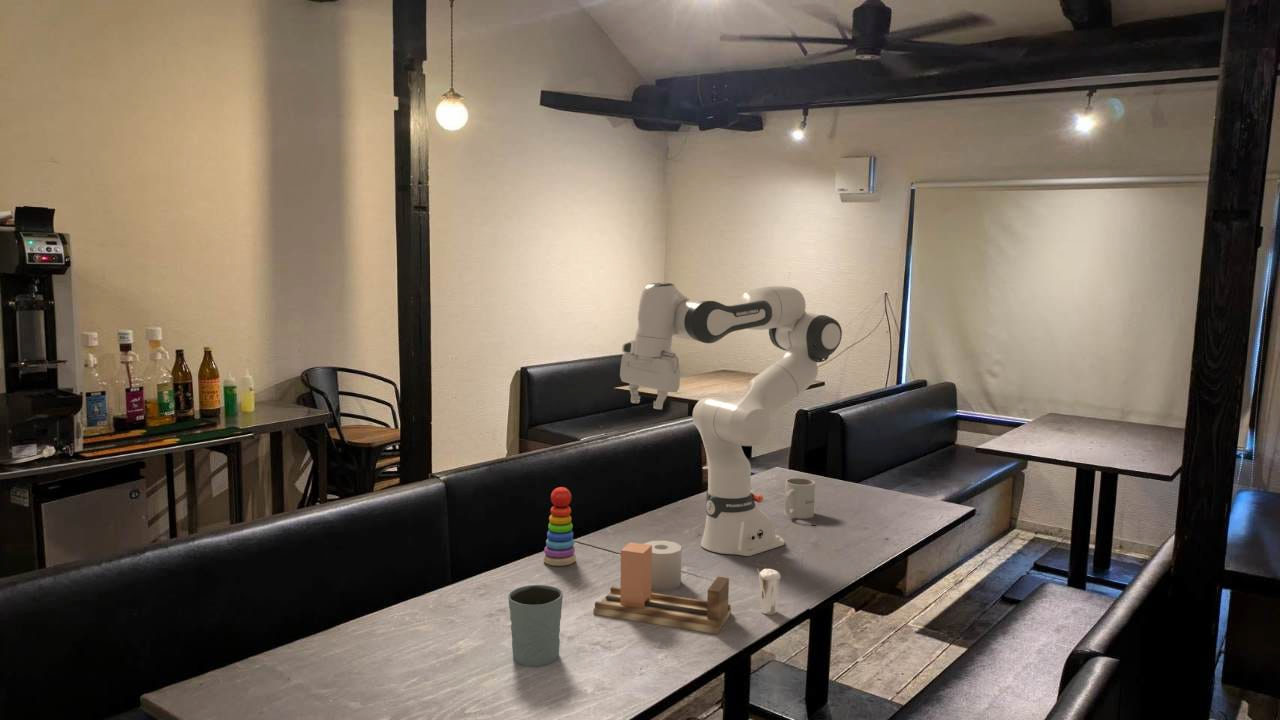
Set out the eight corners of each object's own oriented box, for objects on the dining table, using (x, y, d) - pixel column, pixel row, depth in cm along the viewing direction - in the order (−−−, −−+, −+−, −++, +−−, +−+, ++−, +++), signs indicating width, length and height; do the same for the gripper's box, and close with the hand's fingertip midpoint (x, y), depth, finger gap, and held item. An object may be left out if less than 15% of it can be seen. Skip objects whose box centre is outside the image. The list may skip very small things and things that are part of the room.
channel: (593, 613, 177) (593, 576, 176) (612, 595, 187) (613, 559, 186) (717, 634, 168) (718, 594, 167) (731, 613, 178) (731, 575, 177)
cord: (605, 600, 181) (605, 595, 181) (606, 598, 182) (606, 594, 182) (712, 616, 173) (712, 612, 173) (713, 615, 174) (713, 610, 174)
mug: (797, 508, 256) (798, 476, 255) (819, 515, 250) (820, 482, 249) (770, 515, 249) (771, 482, 247) (792, 522, 242) (794, 488, 241)
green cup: (516, 672, 151) (516, 608, 150) (502, 648, 160) (502, 588, 159) (570, 662, 155) (570, 599, 154) (553, 640, 164) (553, 580, 163)
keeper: (620, 605, 177) (620, 550, 176) (629, 596, 183) (630, 542, 181) (642, 609, 176) (643, 553, 174) (651, 599, 181) (651, 545, 180)
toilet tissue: (621, 577, 198) (622, 542, 197) (676, 574, 200) (677, 539, 199) (627, 592, 189) (627, 555, 188) (685, 589, 191) (685, 552, 190)
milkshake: (750, 610, 180) (751, 564, 179) (772, 606, 182) (773, 561, 181) (761, 618, 175) (763, 572, 174) (783, 614, 178) (785, 568, 176)
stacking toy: (570, 568, 203) (570, 493, 201) (539, 565, 205) (539, 490, 203) (579, 557, 211) (579, 484, 209) (549, 555, 212) (549, 482, 210)
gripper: (689, 354, 196) (682, 413, 197) (639, 345, 212) (633, 399, 213) (668, 352, 192) (661, 412, 193) (618, 344, 209) (612, 399, 210)
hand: (646, 405), depth 203 cm, fingers open, 8 cm apart
